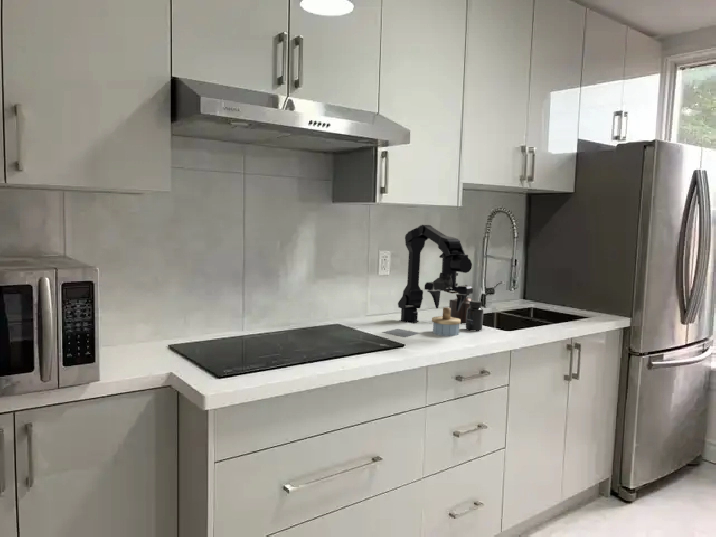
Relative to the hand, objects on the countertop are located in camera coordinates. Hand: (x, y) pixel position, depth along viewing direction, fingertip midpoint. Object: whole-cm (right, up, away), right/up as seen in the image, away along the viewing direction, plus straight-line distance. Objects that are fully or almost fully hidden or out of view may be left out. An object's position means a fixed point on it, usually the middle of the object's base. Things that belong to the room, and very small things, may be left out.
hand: (447, 309), depth 216 cm
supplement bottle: (+13, -10, +13) cm, 21 cm away
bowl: (0, -10, +1) cm, 10 cm away
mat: (-18, -9, -2) cm, 21 cm away
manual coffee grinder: (+11, -8, +32) cm, 35 cm away
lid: (0, -5, +1) cm, 5 cm away
